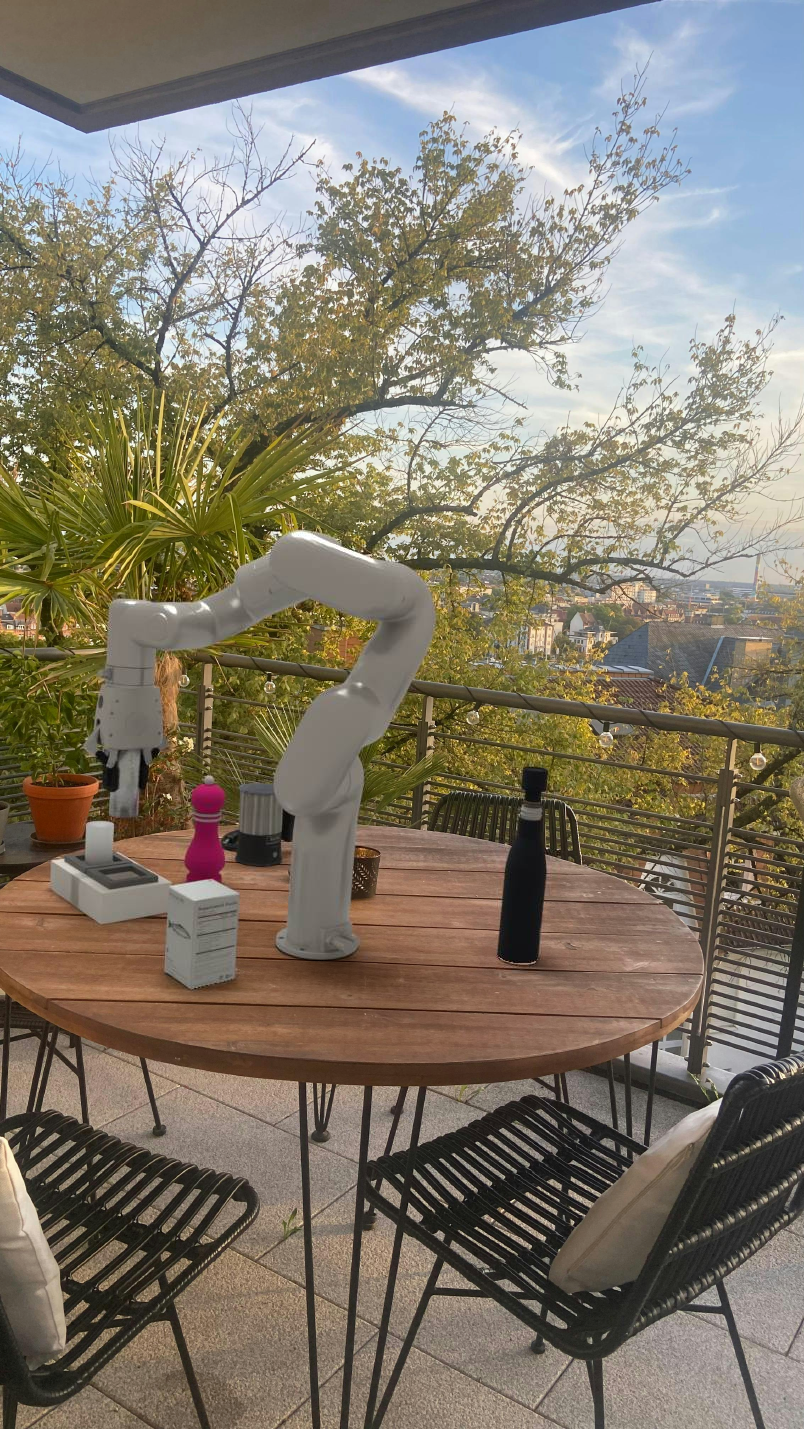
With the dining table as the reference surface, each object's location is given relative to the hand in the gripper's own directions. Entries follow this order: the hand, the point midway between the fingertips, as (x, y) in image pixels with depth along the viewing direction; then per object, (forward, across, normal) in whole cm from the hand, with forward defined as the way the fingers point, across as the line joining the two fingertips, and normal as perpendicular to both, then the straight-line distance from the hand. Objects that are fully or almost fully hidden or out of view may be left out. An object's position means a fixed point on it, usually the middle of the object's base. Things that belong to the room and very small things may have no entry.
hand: (125, 788), depth 157 cm
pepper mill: (+20, +18, +4) cm, 28 cm away
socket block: (+20, 0, +4) cm, 21 cm away
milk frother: (+20, +36, +17) cm, 45 cm away
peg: (+4, 0, 0) cm, 4 cm away
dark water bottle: (+20, +42, -50) cm, 68 cm away
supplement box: (+20, -3, -31) cm, 37 cm away
